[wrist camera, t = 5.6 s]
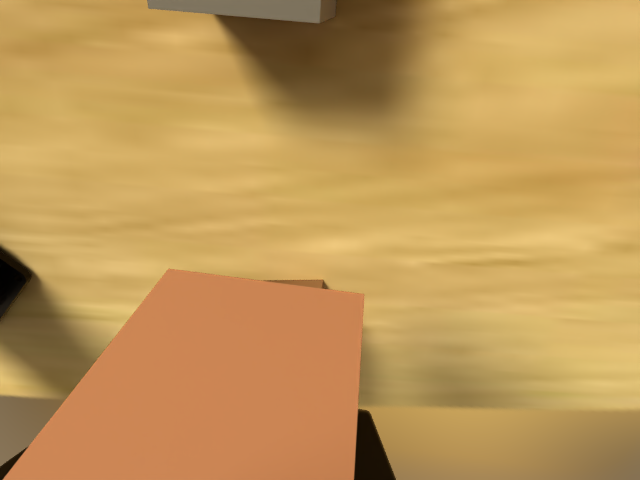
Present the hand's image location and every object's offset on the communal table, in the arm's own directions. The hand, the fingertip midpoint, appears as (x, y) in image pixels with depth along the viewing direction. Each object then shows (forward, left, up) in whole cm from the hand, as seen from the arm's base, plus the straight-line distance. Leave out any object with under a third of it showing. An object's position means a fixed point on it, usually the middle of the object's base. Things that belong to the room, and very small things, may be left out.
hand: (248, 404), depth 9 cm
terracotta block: (0, 0, -2) cm, 2 cm away
